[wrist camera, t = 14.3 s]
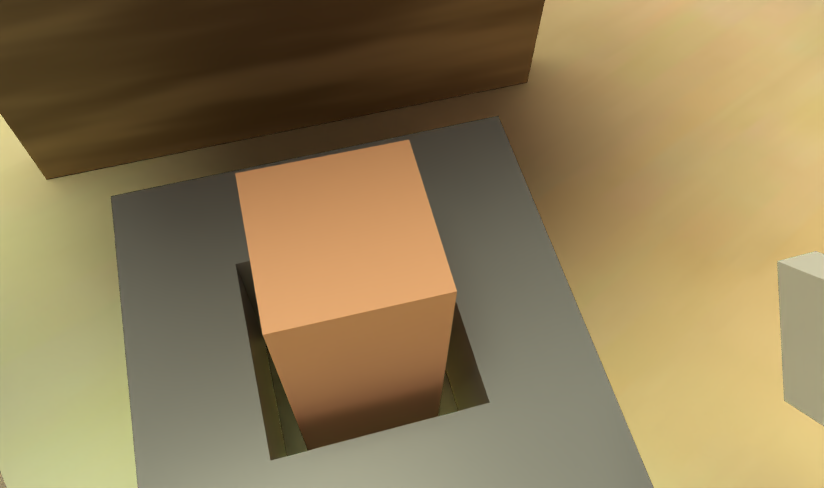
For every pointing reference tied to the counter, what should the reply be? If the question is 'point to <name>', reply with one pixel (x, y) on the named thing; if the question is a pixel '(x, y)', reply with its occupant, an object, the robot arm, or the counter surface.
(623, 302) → the counter surface
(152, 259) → the socket
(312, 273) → the peg
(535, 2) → the wooden l-shaped bracket
